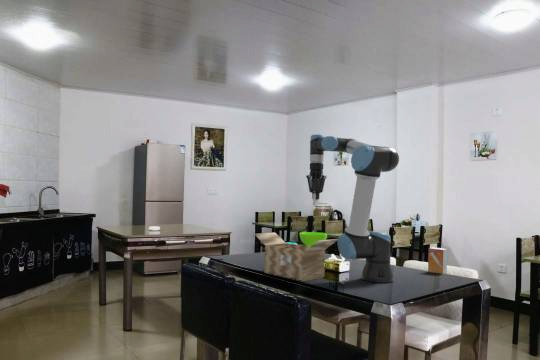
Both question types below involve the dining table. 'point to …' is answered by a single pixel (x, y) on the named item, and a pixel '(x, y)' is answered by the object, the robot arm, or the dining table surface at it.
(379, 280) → the robot arm
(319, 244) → the near flap
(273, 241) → the far flap
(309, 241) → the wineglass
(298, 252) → the carton
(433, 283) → the dining table surface
